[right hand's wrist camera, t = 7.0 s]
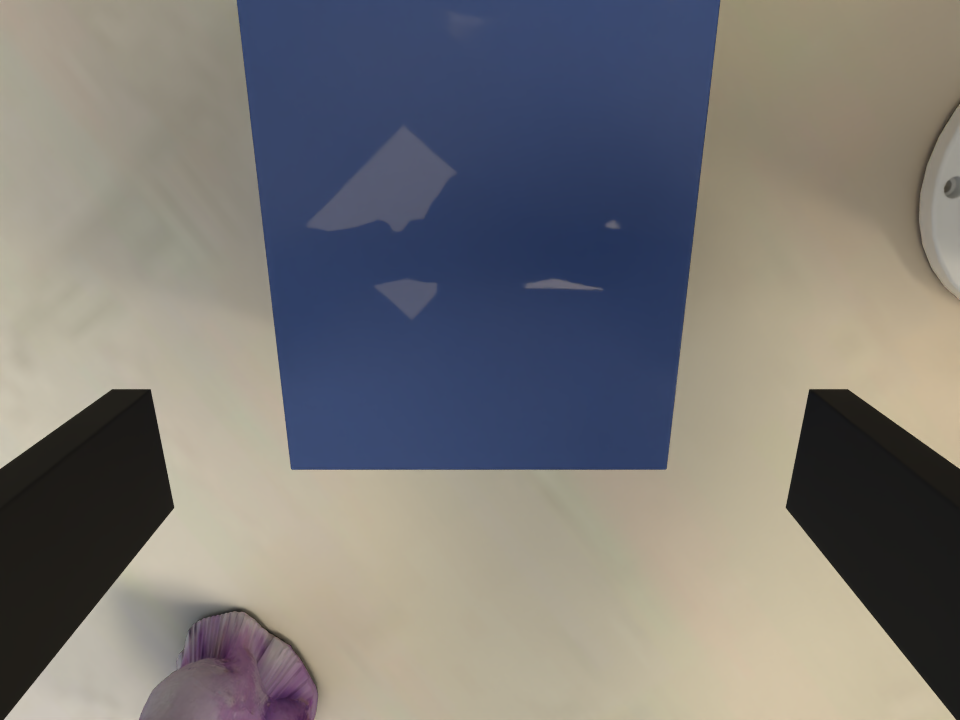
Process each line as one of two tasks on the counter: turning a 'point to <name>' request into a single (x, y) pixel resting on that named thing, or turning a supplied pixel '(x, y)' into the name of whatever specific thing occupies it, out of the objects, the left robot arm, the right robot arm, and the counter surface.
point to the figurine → (234, 676)
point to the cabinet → (478, 225)
